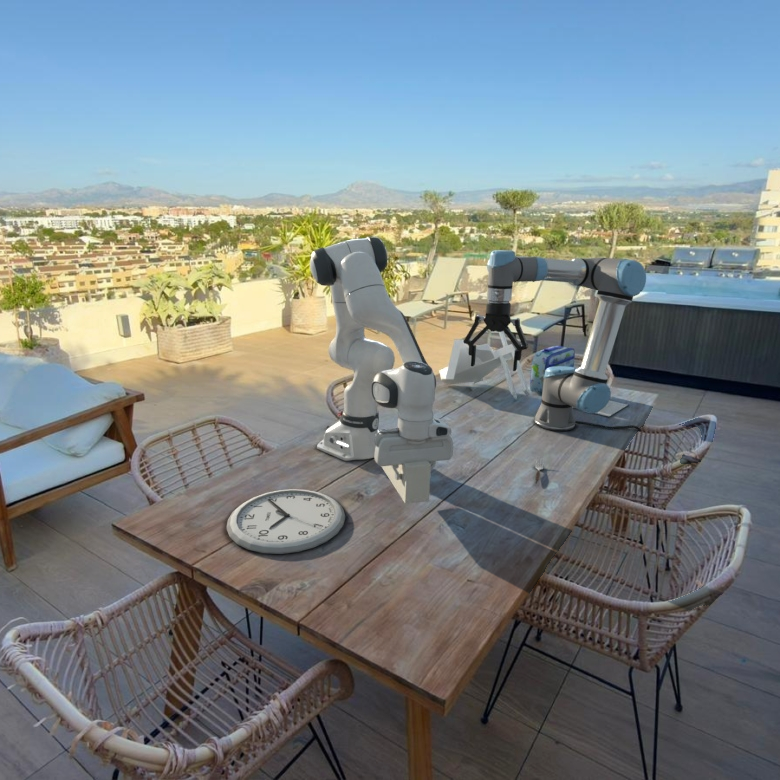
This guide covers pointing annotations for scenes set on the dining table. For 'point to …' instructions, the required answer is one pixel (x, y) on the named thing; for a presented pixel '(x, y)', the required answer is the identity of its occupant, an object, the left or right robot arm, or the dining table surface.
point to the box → (411, 480)
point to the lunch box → (549, 364)
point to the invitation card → (611, 408)
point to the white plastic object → (481, 364)
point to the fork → (538, 469)
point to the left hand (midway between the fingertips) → (412, 477)
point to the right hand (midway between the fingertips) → (493, 367)
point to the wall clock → (285, 521)
